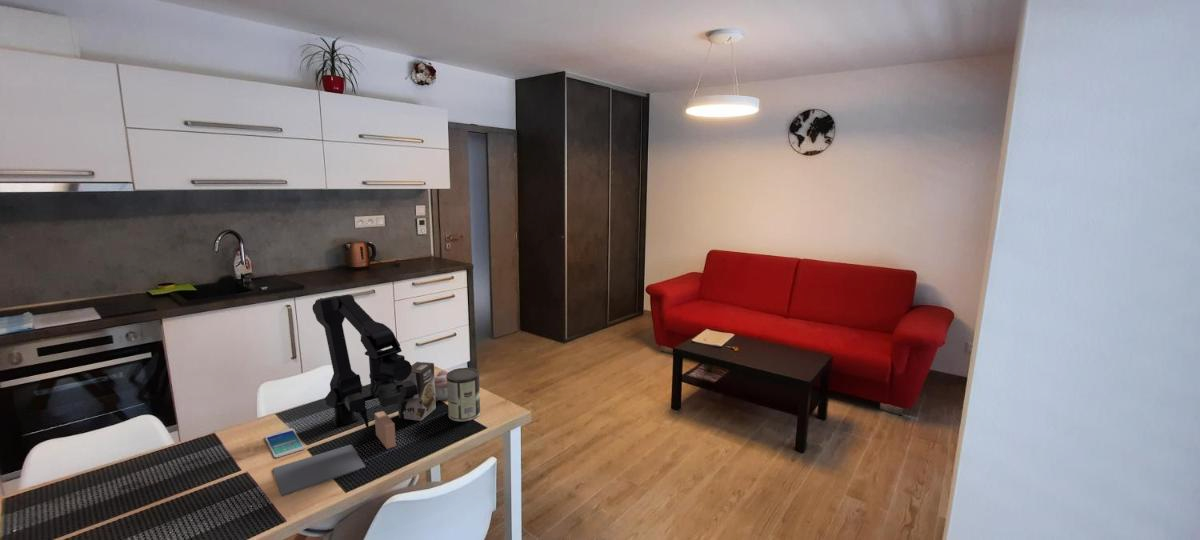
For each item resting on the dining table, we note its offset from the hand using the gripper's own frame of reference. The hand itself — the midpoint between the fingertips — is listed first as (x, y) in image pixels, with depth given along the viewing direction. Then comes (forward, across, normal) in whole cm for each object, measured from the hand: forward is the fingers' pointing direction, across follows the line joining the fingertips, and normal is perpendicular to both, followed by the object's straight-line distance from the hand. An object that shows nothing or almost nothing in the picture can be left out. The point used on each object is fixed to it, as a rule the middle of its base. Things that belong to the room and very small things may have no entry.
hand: (384, 422), depth 144 cm
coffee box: (+6, +14, +10) cm, 18 cm away
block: (+6, 0, 0) cm, 6 cm away
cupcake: (+6, +25, +17) cm, 31 cm away
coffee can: (+6, +25, +1) cm, 26 cm away
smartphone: (+6, -23, +16) cm, 29 cm away
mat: (+6, -18, -4) cm, 19 cm away
